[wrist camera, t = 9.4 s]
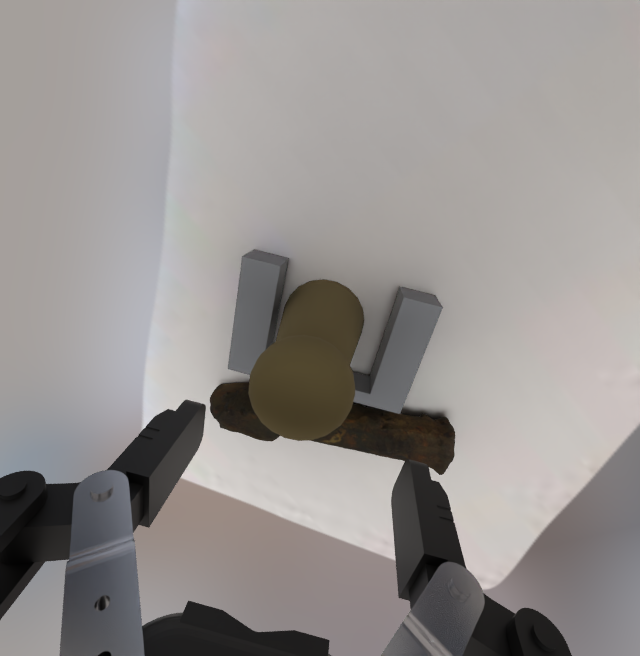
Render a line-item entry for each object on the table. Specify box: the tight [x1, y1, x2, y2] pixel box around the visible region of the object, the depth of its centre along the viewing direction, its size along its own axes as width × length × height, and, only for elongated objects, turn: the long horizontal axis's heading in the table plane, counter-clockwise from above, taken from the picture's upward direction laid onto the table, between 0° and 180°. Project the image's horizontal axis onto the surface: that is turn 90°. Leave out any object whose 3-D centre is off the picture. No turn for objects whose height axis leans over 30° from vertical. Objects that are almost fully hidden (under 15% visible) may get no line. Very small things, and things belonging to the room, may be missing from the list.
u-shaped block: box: [228, 250, 443, 414], centre depth 24 cm, size 8×13×2 cm, turn 77°
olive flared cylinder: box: [248, 279, 364, 441], centre depth 20 cm, size 6×6×11 cm
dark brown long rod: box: [210, 382, 455, 475], centre depth 26 cm, size 19×4×5 cm, turn 79°
